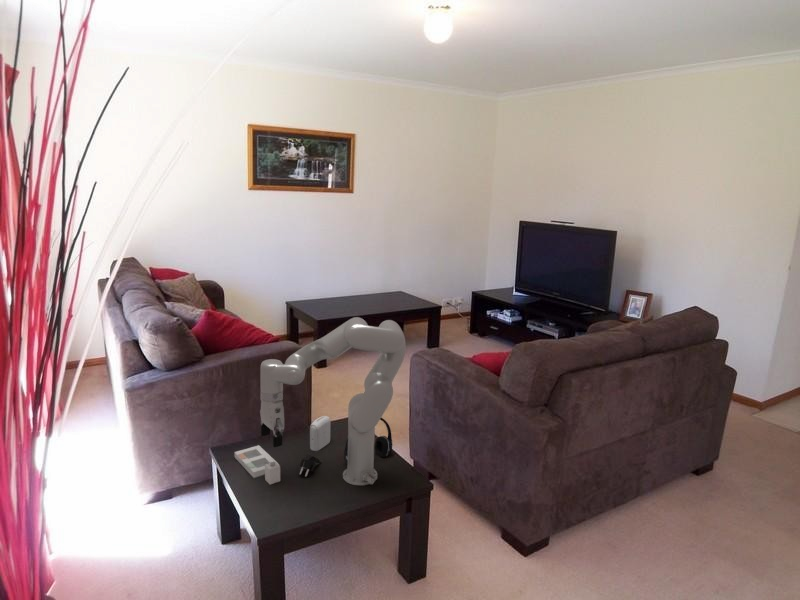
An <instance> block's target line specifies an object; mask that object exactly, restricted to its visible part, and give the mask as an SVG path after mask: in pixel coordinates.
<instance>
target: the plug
mask: <svg viewBox="0 0 800 600" xmlns="http://www.w3.org/2000/svg"><path fill="white" fill-rule="evenodd" d="M276 462H277V461H276ZM276 462H271V463H269V464H266V465H265V475H264V478H265V479H264V480H265V482H266V483H268V485H273V484H276V483H279V482H281V465H280V464H279V463H278V462H277V463H278V464H279V465H278V464H277V463H276Z"/></svg>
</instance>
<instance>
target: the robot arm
mask: <svg viewBox="0 0 800 600" xmlns="http://www.w3.org/2000/svg"><path fill="white" fill-rule="evenodd" d="M406 343H407V342H406V337H405V335H404V331H403V330H402V328H401V326H400V325H399V324H398V323H397V322H396V321H394V320H392V319H386V320H384V321H382V322H381V323H380V324H379V326H373V325H368V322H367V321H366V320H364V319H363V318H362V317H359V316H356V317H352V318H350V319H348V320H347V321H345V322H343V323H342V324H340V325H339V326H337V327H336V328H335V329H333V330H332V331H330V332H329V333H327V334H326V335H324V336H322V337H320V338H319V339H315V340H314V341H312V342H309V343H308V344H306V345H304V346H302V347H300V348H299V349H298V350H296V351H295V352H293V353H292V354H290V356H288V357H287V358H286V360H285V361H284V363H283V361H281V360H279V359H275V358H270V359H265V360H263V361H262V362H261V364H260V371H259V372H260V410H259V415H260V416H259V418H260V436H261V437H266V436H269V435H271V431H272V432H273V436H272V441H273V442H272V446H273V448H278V447H281V446H283V436H284V431H285V407H284V401H283V399H284V398H283V397H284V394H283V393H284V384H286V385H289V386H290V385H293V386H294V385H295V386H296V385H299V384H301V383H302V382H303V381H304V380H305V377H306V376H305V375H306V370H307V369H309V368H310V367H312V366H313V365H315V364H316V363H319V362H320V361H322V360H336V359H337V358H338V357H340V356H341V355H343V354H344V353H346V352H348V350H350V349H352V348H353V349H356V350H360V351H361V350H362V351H366V352H367V351H369V352H376V353H379V355H378V357H377V359H376V360H375V362H374V364H373V366H372V367H371V369H370V371H369V372H368V374H367V375H366V377H365V379H364V383H363V386H364V393H362V392H360V393H357V394H355V395H353V396H352V397H351V398H350V401H349V403H348V407H347V409H348V410H347V411H348V412H347V413H348V414H347V416H348V418H347V419H348V423H347V425H348V427H347V428H348V429H347V433H348V434H347V438H348V461H347V463H346V464H347V465H346V466H347V468H346V469H344V471H343V472H342V478H343V480H344V481H345V482H346V483H348V484H350V485H353V486H368V485H374V483H375V482H376V480H378V471H377V470H376V469H375V467H374V463H375V462H374V459H375V433H376V431H375V430H376V428H375V427H376V426H377V425H378V423H379V422H380V421H381V420H380V419H381V418H383V415H384V413H385V412H386V410H387V408H388V407H389V405H390V404H391V402H392V399H393V396H394V387H393V381H394V379H395V378H396V375H397V374H398V372H399V370H400V368H401V367H402V364H403V362H404V359H405V355H406V352H407V351H406V350H407V347H406V345H407V344H406ZM276 430H278V431H276Z"/></svg>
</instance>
